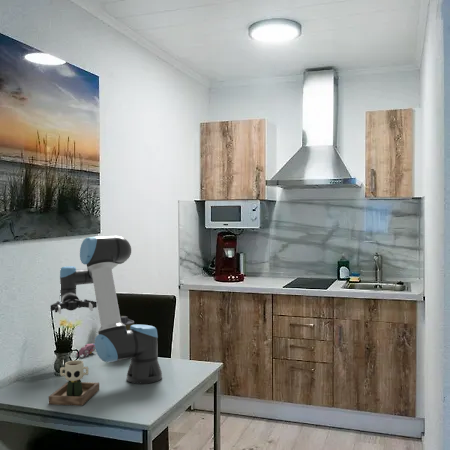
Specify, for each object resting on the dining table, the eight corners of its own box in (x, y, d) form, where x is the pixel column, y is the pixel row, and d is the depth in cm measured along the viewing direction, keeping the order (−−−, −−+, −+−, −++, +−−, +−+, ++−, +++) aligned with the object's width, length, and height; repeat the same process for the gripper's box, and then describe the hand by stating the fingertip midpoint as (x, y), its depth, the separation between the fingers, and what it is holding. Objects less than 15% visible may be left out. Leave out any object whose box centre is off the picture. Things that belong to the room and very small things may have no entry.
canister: (130, 359, 260) (129, 319, 260) (110, 358, 263) (109, 318, 262) (138, 353, 271) (137, 314, 270) (118, 352, 273) (118, 314, 272)
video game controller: (80, 360, 265) (85, 348, 263) (74, 355, 267) (79, 343, 265) (94, 355, 274) (99, 344, 272) (88, 350, 275) (93, 339, 274)
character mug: (58, 399, 205) (58, 365, 205) (62, 392, 213) (61, 360, 212) (87, 397, 207) (86, 364, 206) (90, 391, 214) (89, 359, 213)
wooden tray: (99, 389, 217) (99, 382, 217) (82, 405, 200) (82, 397, 200) (68, 388, 219) (68, 381, 219) (48, 404, 202) (48, 396, 202)
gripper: (97, 307, 258) (104, 315, 239) (43, 311, 249) (46, 320, 229) (97, 291, 258) (104, 298, 238) (42, 295, 248) (46, 302, 229)
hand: (76, 309), depth 234 cm, fingers open, 13 cm apart
